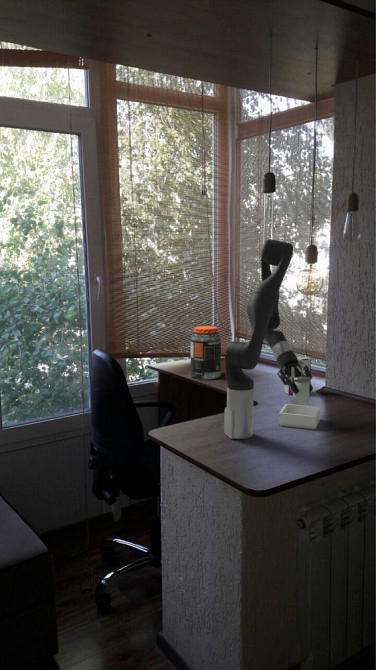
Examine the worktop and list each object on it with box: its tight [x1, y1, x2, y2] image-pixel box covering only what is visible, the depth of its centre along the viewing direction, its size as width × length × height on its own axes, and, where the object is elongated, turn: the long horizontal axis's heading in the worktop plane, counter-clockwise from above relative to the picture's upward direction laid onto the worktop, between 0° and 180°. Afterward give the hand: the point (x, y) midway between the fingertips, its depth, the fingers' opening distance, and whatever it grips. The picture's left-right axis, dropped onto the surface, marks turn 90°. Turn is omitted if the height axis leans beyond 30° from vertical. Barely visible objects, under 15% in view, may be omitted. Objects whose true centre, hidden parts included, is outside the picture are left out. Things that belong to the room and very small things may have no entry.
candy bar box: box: [284, 356, 312, 396], centre depth 251 cm, size 11×5×16 cm, turn 105°
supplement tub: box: [189, 325, 222, 380], centre depth 283 cm, size 16×16×26 cm
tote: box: [278, 403, 322, 431], centre depth 208 cm, size 14×14×5 cm
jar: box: [292, 375, 310, 406], centre depth 207 cm, size 6×6×10 cm
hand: (304, 391), depth 205 cm, fingers closed on jar, 6 cm apart
